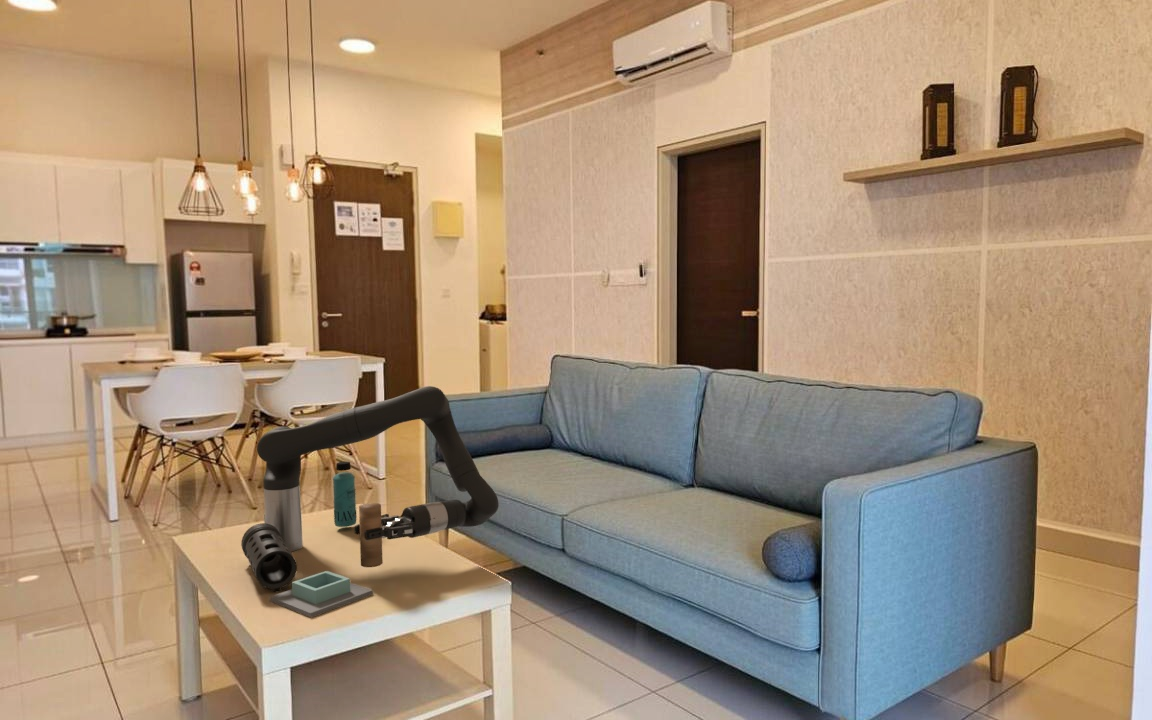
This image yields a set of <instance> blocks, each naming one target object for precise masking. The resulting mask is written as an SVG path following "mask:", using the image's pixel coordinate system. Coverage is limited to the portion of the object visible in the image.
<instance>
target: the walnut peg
mask: <svg viewBox="0 0 1152 720" xmlns="http://www.w3.org/2000/svg"><path fill="white" fill-rule="evenodd" d="M358 513H359V514H358V515H359V516H358V517H359V521H358V522H359V524H360V534H359V549H360V566H361V567H363V568H375V567H379V566H381V565H383V563H384V562H383V538H381V537H380V538H375V539H370V540H366V539H365V537H364V532H365V530H369V529H374V528H380V529H381V527H382V525H381V515H382V505H381V504H380V503H377V502H369V503H362V504H360V505H359V506H358Z"/></svg>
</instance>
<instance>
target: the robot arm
mask: <svg viewBox="0 0 1152 720" xmlns="http://www.w3.org/2000/svg"><path fill="white" fill-rule="evenodd" d="M414 420H415V421H416V420H421V421H422V422H423V423H424V424H425V426H426V427H427V428H428V429H429V431H430V432H431V433H432V435H433V437H434V439H435V441H436V442H437V443H436V444H437V445H438V447H439V449H440V451H441V455H442V458H443V461H444V464H445V466H446V468H447V470H448V473H449V475H450V477H451V479H452V481H453V484H454V485H455V487H456V489H457V490H458V491H459V492H463V493H464V492H465V493H466V492H467V494H468V495H469V496H470V498H471V499H469V500H468V501H465V502H463V501H461V500H459V499H449V500H444V501H438V502H437V501H436V502H435V501H434V502H428V503H424V504H417V505H411V506H406V507H405V508H404V509H403V510H402V513H401V515H400V516H399V515H398V514H395V515H390V514H389V513H385V514H381V525H382V527H381V529H380V528H374V529H369V530H365V532H364V537H365V539H366V540H370V539H375V538H380V537H381V538H382V539H385V538H386V539H387V540H394V539H401V538H411V539H412V538H417V537H422V536H427V535H431V534H435V533H439V532H441V531H445V530H448V529H454V528H458V527H461V528H464V527H465V528H467V527H470V528H471V527H478V526H481V525H482V524H484V523H486V522H487V521H488V520H490V518H491V517H493V516H494V515H495V514H496V512H498V509H499V506H500V505H499V504H500V503H499V499H498V496H497V494H496V492H495V490H494V489H493V488H492V487H491V486H490V484H489V483H488V482H487V481H486V480H485V478H483V476H481V473H480V471H479V469H478V468H477V465H476V463H475V462H474V460H473V458H472V455H471V454H470V451H469V450H468V449H467V447H466V445H465V443H464V441H463V440H462V438H461V436H460V434H459V431H458V430H457V427H456V424H455V422H454V421H455V420H454V417H453V414H452V411H451V408H450V401H449V399H448V398H447V396H446V394H445V393H444V391H443V390H441V389H440V388H438V387H436V386H432V385H430V386H429V385H428V386H424V387H420V388H417V389H415V390H412V391H409V392H406V393H404V394H401V395H399V396H396V397H393V398H389V399H385V400H381V401H376V402H373V403H368V404H364V405H360V406H355V407H352V408H349V409H345V410H341V411H339V412H335V413H333V414H330V415H327V416H325V417H323V418H321V419H318V420H316V421H313V422H311V423H308V424H306V425H302V426H297V427H292V428H291V427H288V426H278V427H275V428H273V429H270V430H269V431H267V432H265V433H264V434H263V435H262V436H261V437H260V439H259V440H258V443H257V445H256V452H257V455H258V456H259V458H260V459H261V460H262V461H264V462H265V463H266V468H265V473H264V476H263V480H262V481H263V482H262V483H263V484H262V485H263V498H264V499H263V501H264V502H263V503H264V515H263V521H264V523H266V524H270V525H272V526H274V527H275V528H276V529H277V530H278V531H279V533H280V534H281V537H282V540H283V541H284V543H285V545H286V546H287V548H288V549H289V551H290V552H291V553H292V552H296V551H298V550H300V549H302V548H303V546H304V542H303V526H302V525H303V521H302V519H303V518H302V504H301V502H302V500H301V487H300V486H301V485H300V483H301V482H300V479H301V478H300V477H301V473H302V456H304V455H306V454H309V453H312V452H316V451H320V450H321V451H322V450H326V449H333V448H337V447H342V446H343V447H344V446H346V445H350V444H355V443H359V442H363V441H367V440H369V439H372V438H375V437H377V436H378V435H381V434H382V433H384V432H386V431H387V430H388V429H390V428H392V427H393V426H397V425H399V424H402V423H407V422H410V421H414ZM354 534H356V536H357V535H360V523H359V524H354Z"/></svg>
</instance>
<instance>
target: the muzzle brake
mask: <svg viewBox="0 0 1152 720" xmlns="http://www.w3.org/2000/svg"><path fill="white" fill-rule="evenodd" d="M240 546H241V549H242V551H243V554H244V556H245V558H246V559H248V562H249V564H250V566H251V569H252V572H253V573H254V576H255V578H256V580H257V582H258V583H259V584H260V585H261V587H264V588H265V589H268V590H273V592H274V593H277V592H280V591H281V588H284V587H286V586H288V584H290V583H292V582H293V579H294V578H295V577H296V574H297V572H298V571H297V569H298V565H297V560H296V559H295V557H294V556H293V554H292V552H290V551H289V549H288V548H287V546H286V545H285V543H284V541H283V540H282V537H281V534H280V533H279V531H278V530H277V529H276V528H275V527H274V526H272V525H270V524H266V523H257V524H254V525H251V526H250V527H249V528H247V530H246V531H245V532H244V533H243V536H242V538H241V545H240Z"/></svg>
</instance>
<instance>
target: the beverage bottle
mask: <svg viewBox="0 0 1152 720" xmlns="http://www.w3.org/2000/svg"><path fill="white" fill-rule="evenodd" d="M335 465H336V467H335V471H338V472H339V471H347V472H339V473H336V474H335V475H334V476H333V477H332V490H333V513H334V514H333V518H334V519H333V522H334V526H336V527H339V528H341V527H342V528H346V527H350V526H351V527H352V526H355V525H357V520H358V516H357V515H358V514H357V505H356V494H357V492H356V486H355V484H356V481H355V479H356V477H355V475H354V474H353V473H351V472H349V471H348V470H351V469H352V468H351V462H350V461H338V462H336V464H335Z"/></svg>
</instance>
